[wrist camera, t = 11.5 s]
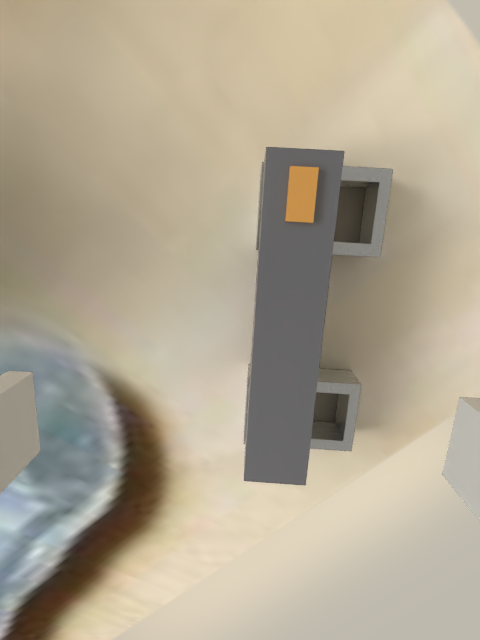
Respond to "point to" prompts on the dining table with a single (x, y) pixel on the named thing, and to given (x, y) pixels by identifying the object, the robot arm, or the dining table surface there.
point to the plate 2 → (373, 210)
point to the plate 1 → (344, 426)
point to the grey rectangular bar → (290, 309)
